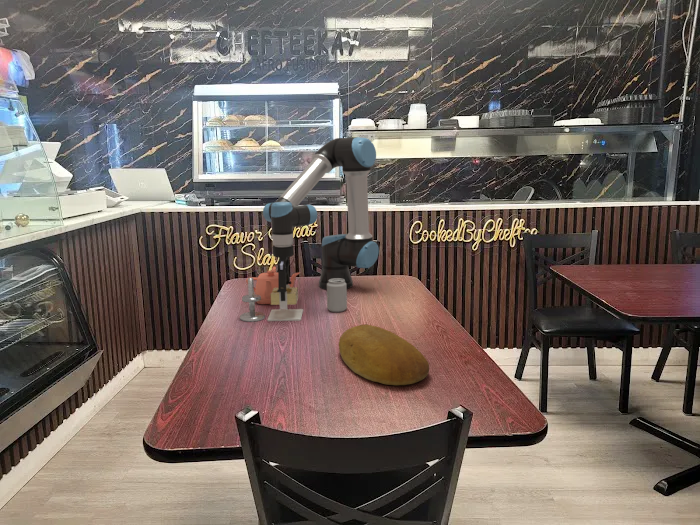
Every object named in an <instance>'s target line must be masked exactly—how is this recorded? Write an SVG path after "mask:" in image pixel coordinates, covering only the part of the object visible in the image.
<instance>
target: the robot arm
mask: <svg viewBox="0 0 700 525" xmlns="http://www.w3.org/2000/svg"><path fill="white" fill-rule="evenodd" d="M376 159H377V150H376V148H375V145H374V143H373V142H372V140H370V139H369V138H366V137H359V136H357V137H337V138H334V139H332V140H330V141H328V142H326V143H325V144H324V145H323V146H321V147H320V148H319V149H318V150H317V151H316V152H315V153H314V154H313V155H312V157H311V161H310V163H308V164H307V166H306V167H305V168H304V169H303V170H302V171H301V173H299V175H298V176H297V177H296V178H295V180H293V181H292V182H291V184H290V185H289V186H288V187H287V188H286V189H285V191H283V193H281V195H280V196H279V198H278V199H277V200H275V201H274V202H268V203H267V204H266V205H264V207H263V209H262V215H263V218H264V219H265V221H266V222H269V223H271V236H270V239H271V241H272V256H273V257H274V258H278V261H277V272H278V290H277V292H279V300H280V305H279V309H288V305H287V290H286V288H290V285H288V284H291V276H290V258H291V257H293V256H294V245H293V244H294V228H297V227H303V226H309V225H310V226H311V225H313V224H314V223H316V222H317V219H318V211H317V209H316V207H315V206H313V204H303V205H301V203H302V202H303V200H305V198H306V196H308V194H309V193H310V192H311V191H312V190H313V188H314V187H315V186H316V185H317V184H318V183H319V182H320V180H321V179H322V178H323V177H324V176H325V175H326V174H329V173H330V172H331V171H332V170H333V169H335V168H338V167H342V168H341V170H342V173H343V174H344V175H345V176H346V179H345V180H346V200H347V202H346V204H347V222H348V223H347V224H348V228H347V229H348V233H341V234H333V235H332V234H331V235H326V236H323V237H322V241H321V258H322V260H321V261H322V262H321V263H322V264H321V265H322V270H321V273H320V276H319V280H318V281H319V282H318V287H319V288H320V289H322V290H327V283H328V282H329V281H328V280H329V279H333V278H341V279H344V280H345V281H344V282H345V283H346V285H347V290H348V289H350V288H352V287H354V286H353V284H354V283H353V282H354V281H353V278H352V275H351V273H350V269H349V267H355V268H359V269H369V268H371V267H373V265H374V264H375V263H376V262H377V260H378V258H379V257H378V256H379V250H380V249H379V245H378V244H377V242H375V241H374V238H373V237H374V236H373V234H371V233H370V229H369V227H370V226H369V225H370V224H369V194H368V192H369V191H368V174H369V173H370V172H371V168H372V167H373V166H374V165H375V163H376V162H375V161H376Z"/></svg>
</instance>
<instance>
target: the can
mask: <svg viewBox="0 0 700 525" xmlns="http://www.w3.org/2000/svg"><path fill="white" fill-rule="evenodd" d="M328 281H329V282H328V283H327V289H326V300H327V302H326V304H327V305H326V306H327V308H326V309H327V310H329V311H330V312H332V313H343V312H344V311H346V310H347V308H348V305H347V304H348V297H347V296H348V294H347V291H348V289H347V285H346V283H345V282H344V281H345V280H344V279H341V278H333V279H329V280H328Z"/></svg>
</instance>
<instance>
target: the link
mask: <svg viewBox="0 0 700 525" xmlns="http://www.w3.org/2000/svg"><path fill="white" fill-rule="evenodd" d="M277 290H278V288H274V289H273V291H272V293H271V304H270V305H271V306H273V305H274V306H275V305H276V306H277V305H278V306H280V300H279V292H277ZM286 290H287V306H288V305H291V306H292V305H297V303H298V299H299V287H290V288H286Z"/></svg>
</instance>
